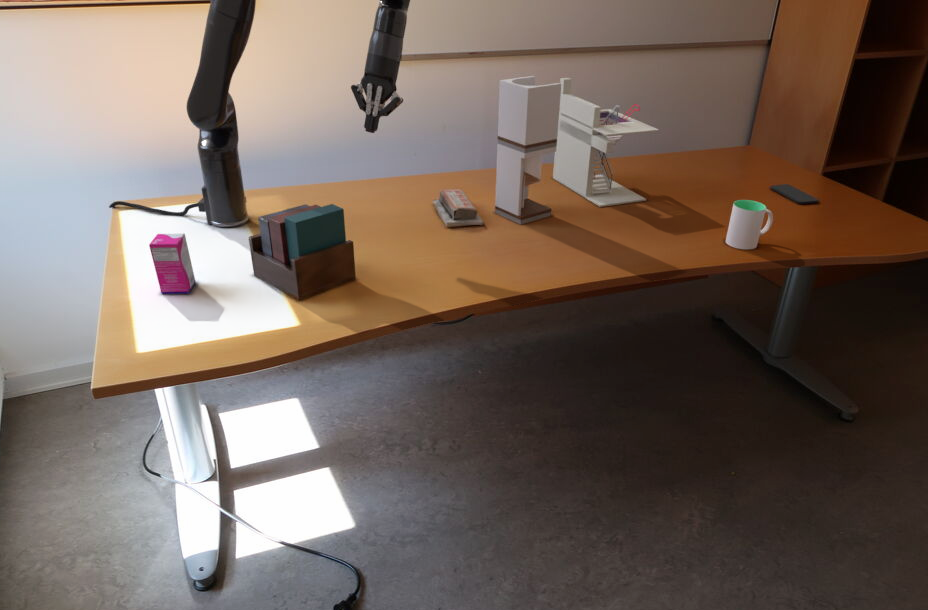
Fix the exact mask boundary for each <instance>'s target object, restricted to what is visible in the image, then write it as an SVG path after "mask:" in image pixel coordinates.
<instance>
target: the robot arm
mask: <svg viewBox="0 0 928 610" xmlns="http://www.w3.org/2000/svg"><path fill="white" fill-rule="evenodd" d="M410 2H411V0H379V4H378V6H377V9H376V11H375V17H374V22H373V27H372V32H371V36H370V38H369V41H368V42H369V43H368V49H367V54H366V59H365V65H364V72H363V76H362V78H361V79H360V82H358V83H357V84H352V85H351V86H350V89H351V91H352V94H353V96H354V98H355V102H356V103H357V106H358V109H359V110H361V111H362V112H364V113H365V119H364V124H363V128H364V129H365V132H367V133H371V134H375V132H377V131H378V128H379V123H380V118H381V117H388V116H390V114H392V113H393V112H394V111H395V110H396V109H397V108H398V107H399V106H401V104H402V103H403V102H404V98H403V97H401V96H400V95H399V93H398V92H397V80H398V75H399V70H400V64H401V60H402V57H403V48H404V47H403V46H404V38H405V33H406V28H407V21H408V11H409V8H410ZM256 4H257V0H210V4H209V7H208V13H207V17H206V21H205V22H206V23H205V28H204V34H203V39H202V44H201V45H202V46H201V50H200V51H201V52H200V58H199V64H198V68H197V70H196V71H197V72H196V74H195V77H194V80H193V83H192V87H191V89H190V91H189V95H188V97H187V100H186V106H185V107H186V113H187V117H188V119H189V121H190V122H191V123H192V125H193V126H195V128H196V129H198V130H199V135H198V136H199V137H198V141H197V152H198V158H199V164H200V171H201V175H202V182H203V186H202V187H201V194H202V198H201V199H200V200H199V201H198V202H194V203H191V204H188V205H186V206H185V207H184V209H183V211H179V212H175V211H169V210H163V209H160V208H153V207H149V206H146V205H142V204H137V203H131V202H126V201H121V200H120V201H119V200H118V201H114V202H111V204H109V206H108V208H109V209H111V208H112V209H113V208H115V207H116V206H125V207H129V208H135V209H140V210H143V211H146V212H151V213H156V214H160V215H166V216H173V217H174V216H175V217H176V216H177V217H182V216H185V215H187V214H188V212H189V210H191V209H193V208H198V212H200V213H205V217H206V223H207V225H212V226H214V227H218V228H233V227H239V226H242V225H245V224H246V223H248V222H249V219H250V218H249V214H248V208H247V197H246V195H245V187H244V183H243V182H244V180H243V175H242V174H243V173H242V168H241V167H242V166H241V161H240V154H239V140H240V139H239V129H238V127H239V126H238V121H237V120H238V118H237V111H236V106H235V102H234V99H233V97H232V95H231V93H230V86H231V83H232V79H233V76H234V73H235V71H236V69H237V66H238V65H239V63H240V61H241V59H242V56H243V54H244V52H245V50H246V47H247V44H248V42H249V39H250V35H251V31H252V28H253V24H254V19H255V14H256V7H257V6H256ZM363 93H364V94H365V96H366V98H365V96H364V94H363ZM389 100H390V102H388V101H389ZM386 102H388V104H386Z"/></svg>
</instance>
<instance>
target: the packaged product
mask: <svg viewBox="0 0 928 610" xmlns="http://www.w3.org/2000/svg"><path fill="white" fill-rule="evenodd" d="M432 201H433V206H434V208H435V209H436V211H437V213H438V215H439V217H440V218H441V220H442V222H443V223H444V225H445V226H446V228H455V227H465V226H483V225H484V221H483V219H482V218H481V216H480V215H479V214H478V210H477V209H476V207H475V206H474V204H473V203H472V201H470V198H468V196H467V194H466V193H465V192H464V190H463V189H460V188H447V189H440V190H439V196H438V199H436V198H435V199H433V200H432Z"/></svg>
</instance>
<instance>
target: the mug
mask: <svg viewBox="0 0 928 610" xmlns="http://www.w3.org/2000/svg"><path fill="white" fill-rule="evenodd" d="M765 214H767V216H768V217H767V221H766V224H765V225H764V227H763V228H762V226H763V223H764V220H765V219H764V218H765ZM773 221H774V214H773V212H772V211H771V210H770V209H768V208H767V206H766V205H765V204H764V203H761V202H760V201H756V200H749V199H737V200H735V201H733V204H732V209H731V213H730V218H729V221H728V222H729V224H728V228H727V231H726V236H725V244H727V245H728V246H729V247H732V248H734V249H738V250H754V249H756V248H757V247H758V244H759V239H760V236H761V235H765V234H766V233H768V231H769V230H770V229H771V227H772V225H773Z"/></svg>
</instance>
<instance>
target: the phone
mask: <svg viewBox="0 0 928 610" xmlns="http://www.w3.org/2000/svg"><path fill="white" fill-rule="evenodd" d="M770 189H771V190H773V191H774V192H776V193H778V194H780V195H781V196H783V197H785V198H787V199H789V200H791V201H793V202H795V203H797V204H799V205H806V204H816V203H819V199H818V198H817V197H814V196H812V195H811V194H809V193H806V192H805V191H803V190H801V189H799V188H797V187H795V186H793V185H792V184H789V183H788V184H787V183H784V184H783V183H782V184H774V185H773V184H772V185H770Z"/></svg>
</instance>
